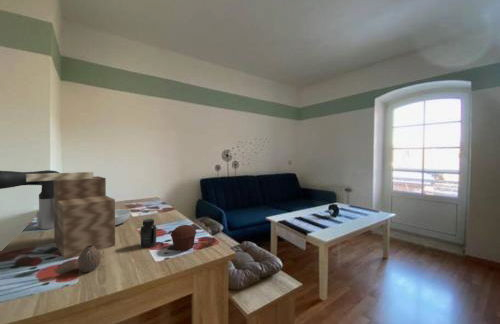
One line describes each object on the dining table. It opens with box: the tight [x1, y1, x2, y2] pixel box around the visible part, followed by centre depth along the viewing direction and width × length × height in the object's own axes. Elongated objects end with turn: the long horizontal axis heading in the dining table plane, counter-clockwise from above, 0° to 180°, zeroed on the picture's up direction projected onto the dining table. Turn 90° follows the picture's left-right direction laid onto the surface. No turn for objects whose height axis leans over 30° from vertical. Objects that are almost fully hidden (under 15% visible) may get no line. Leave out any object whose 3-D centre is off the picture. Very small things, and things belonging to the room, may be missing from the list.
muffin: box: [170, 224, 197, 252], centre depth 95 cm, size 12×11×10 cm
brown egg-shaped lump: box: [76, 245, 102, 273], centre depth 76 cm, size 7×7×9 cm
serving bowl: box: [115, 208, 132, 226], centre depth 125 cm, size 21×21×7 cm
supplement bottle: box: [139, 218, 157, 248], centre depth 97 cm, size 7×7×12 cm
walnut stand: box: [53, 175, 116, 261], centre depth 97 cm, size 18×26×31 cm
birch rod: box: [26, 171, 94, 182], centre depth 96 cm, size 23×3×3 cm, turn 138°
